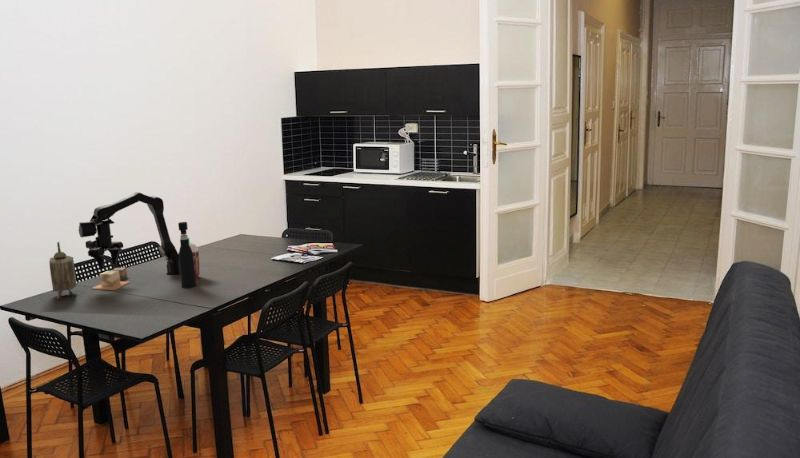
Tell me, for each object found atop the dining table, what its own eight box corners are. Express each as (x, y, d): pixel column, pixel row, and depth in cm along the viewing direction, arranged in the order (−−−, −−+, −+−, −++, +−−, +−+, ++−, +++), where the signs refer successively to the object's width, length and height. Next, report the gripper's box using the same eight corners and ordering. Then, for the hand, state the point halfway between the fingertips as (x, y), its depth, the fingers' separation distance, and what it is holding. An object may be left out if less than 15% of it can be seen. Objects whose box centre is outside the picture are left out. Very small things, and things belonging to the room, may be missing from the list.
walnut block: (127, 277, 344) (126, 267, 343) (123, 279, 339) (122, 269, 338) (117, 277, 344) (115, 267, 343) (113, 280, 339) (112, 270, 338)
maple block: (120, 283, 330) (118, 270, 329) (112, 286, 324) (111, 274, 323) (109, 282, 331) (107, 270, 330) (101, 286, 326) (99, 274, 324)
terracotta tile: (129, 282, 332) (129, 281, 332) (114, 289, 321) (114, 288, 321) (107, 282, 335) (107, 281, 335) (91, 289, 324) (91, 288, 323)
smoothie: (205, 276, 339) (201, 236, 335) (193, 280, 331) (189, 239, 327) (191, 275, 342) (187, 235, 338) (180, 279, 335) (175, 238, 331)
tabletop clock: (56, 293, 319) (48, 240, 314) (77, 290, 322) (70, 238, 318) (54, 301, 306) (46, 246, 301) (77, 298, 309) (69, 243, 304)
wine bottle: (183, 288, 318) (176, 224, 312) (180, 285, 323) (174, 222, 318) (197, 286, 321) (191, 222, 315) (194, 283, 326) (188, 220, 320)
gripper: (101, 230, 334) (105, 261, 337) (75, 238, 316) (80, 271, 319) (122, 230, 331) (125, 261, 334) (97, 238, 313) (101, 271, 316)
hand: (108, 266), depth 326 cm, fingers open, 9 cm apart
